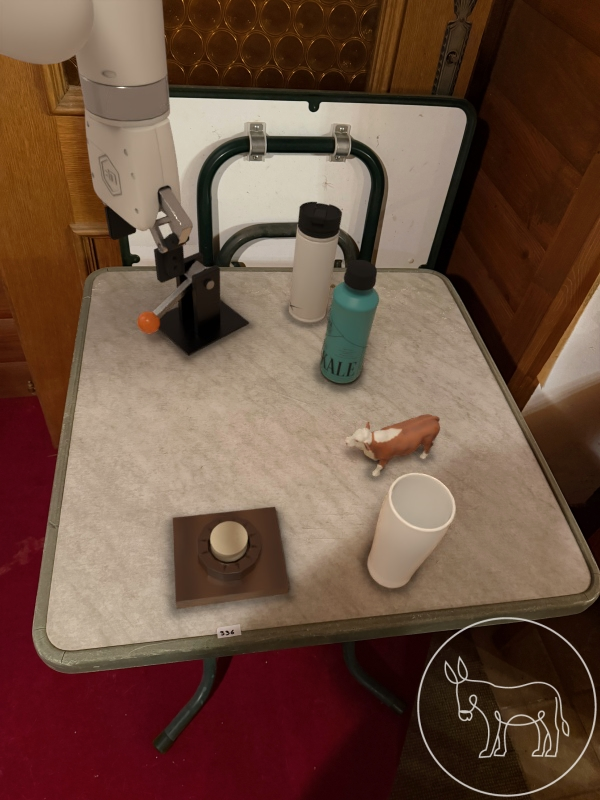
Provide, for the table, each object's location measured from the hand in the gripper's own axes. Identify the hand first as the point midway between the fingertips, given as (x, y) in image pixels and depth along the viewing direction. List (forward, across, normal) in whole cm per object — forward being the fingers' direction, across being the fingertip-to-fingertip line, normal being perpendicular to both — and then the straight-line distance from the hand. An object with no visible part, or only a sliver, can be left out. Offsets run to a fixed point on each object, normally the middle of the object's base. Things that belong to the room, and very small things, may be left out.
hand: (146, 255), depth 63 cm
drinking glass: (+23, +39, +5) cm, 45 cm away
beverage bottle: (+23, +13, +23) cm, 35 cm away
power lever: (+16, -8, +8) cm, 20 cm away
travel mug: (+23, 0, +28) cm, 36 cm away
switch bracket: (+23, -8, +12) cm, 27 cm away
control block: (+23, +26, -8) cm, 36 cm away
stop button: (+19, +26, -8) cm, 34 cm away
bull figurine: (+23, +29, +16) cm, 40 cm away
